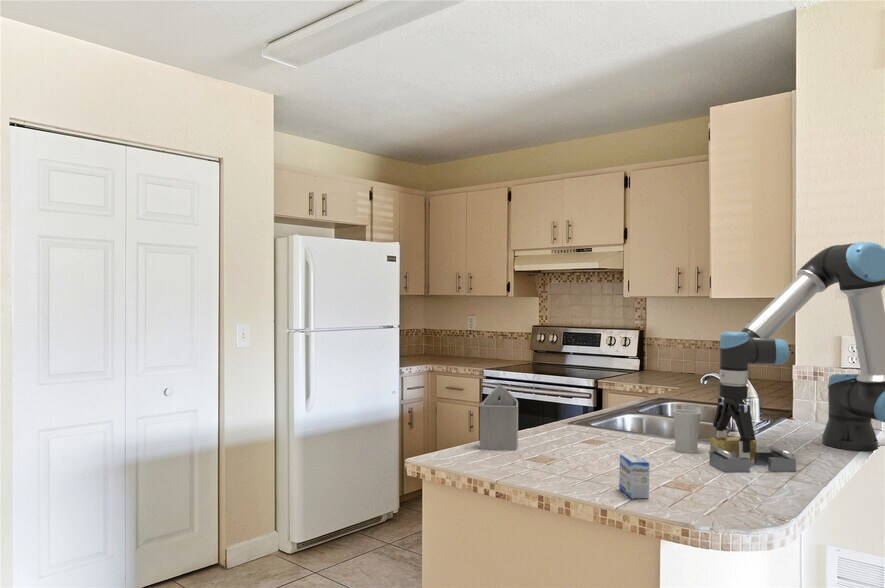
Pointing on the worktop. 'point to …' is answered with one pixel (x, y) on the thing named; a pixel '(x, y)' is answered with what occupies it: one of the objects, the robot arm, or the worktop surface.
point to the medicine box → (634, 476)
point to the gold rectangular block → (731, 445)
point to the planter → (499, 421)
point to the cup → (686, 430)
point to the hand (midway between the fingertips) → (732, 458)
